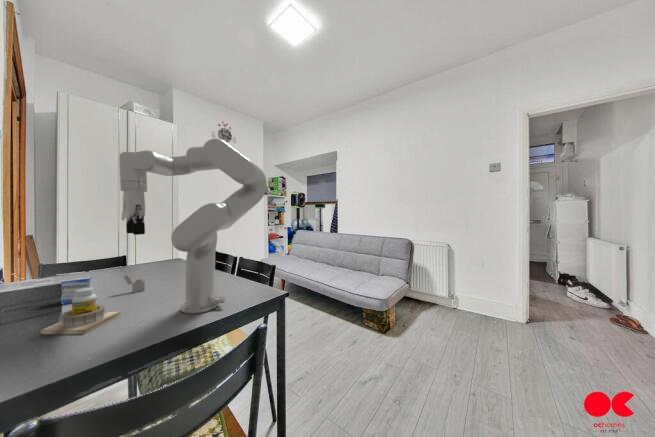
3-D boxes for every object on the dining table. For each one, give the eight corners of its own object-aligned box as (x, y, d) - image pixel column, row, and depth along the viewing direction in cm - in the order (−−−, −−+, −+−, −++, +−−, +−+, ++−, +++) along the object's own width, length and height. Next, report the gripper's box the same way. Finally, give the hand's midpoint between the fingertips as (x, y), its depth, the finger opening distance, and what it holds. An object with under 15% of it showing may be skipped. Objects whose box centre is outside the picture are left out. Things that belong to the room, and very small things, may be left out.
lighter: (144, 289, 103) (144, 272, 103) (144, 290, 102) (144, 272, 102) (123, 293, 99) (123, 274, 98) (123, 294, 97) (123, 275, 97)
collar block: (120, 315, 78) (120, 303, 78) (85, 333, 66) (85, 319, 66) (83, 315, 78) (83, 303, 77) (40, 334, 66) (40, 319, 65)
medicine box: (59, 305, 85) (59, 282, 85) (62, 301, 89) (62, 279, 89) (90, 300, 91) (90, 278, 90) (91, 296, 94) (91, 275, 94)
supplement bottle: (99, 314, 76) (99, 285, 76) (94, 321, 71) (94, 290, 71) (75, 318, 73) (75, 288, 73) (69, 325, 68) (68, 293, 68)
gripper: (115, 188, 87) (117, 233, 87) (126, 184, 76) (127, 235, 76) (140, 189, 93) (142, 232, 93) (153, 186, 82) (155, 234, 82)
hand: (135, 233), depth 85 cm, fingers open, 9 cm apart
